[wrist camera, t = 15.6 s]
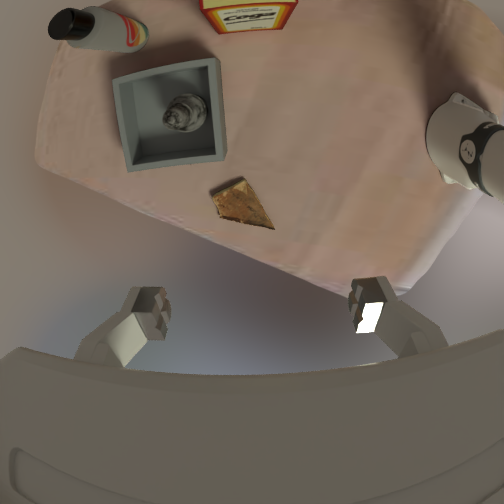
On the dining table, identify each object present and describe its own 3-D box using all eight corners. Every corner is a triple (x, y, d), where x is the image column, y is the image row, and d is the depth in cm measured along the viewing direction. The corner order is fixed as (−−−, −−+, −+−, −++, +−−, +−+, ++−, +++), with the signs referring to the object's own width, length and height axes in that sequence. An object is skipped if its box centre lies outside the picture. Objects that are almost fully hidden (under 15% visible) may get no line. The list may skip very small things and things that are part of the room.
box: (220, 61, 33) (214, 57, 28) (227, 150, 42) (223, 160, 37) (128, 78, 34) (112, 79, 29) (141, 161, 42) (127, 172, 37)
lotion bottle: (153, 23, 28) (88, -5, 12) (144, 54, 32) (72, 45, 15) (123, 22, 27) (47, 3, 11) (114, 52, 31) (34, 50, 14)
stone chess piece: (206, 88, 35) (189, 90, 25) (213, 124, 38) (199, 139, 28) (169, 97, 35) (140, 104, 26) (177, 131, 39) (151, 150, 29)
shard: (274, 225, 50) (275, 230, 49) (238, 241, 53) (237, 247, 51) (246, 176, 45) (246, 179, 43) (208, 195, 47) (206, 200, 46)
